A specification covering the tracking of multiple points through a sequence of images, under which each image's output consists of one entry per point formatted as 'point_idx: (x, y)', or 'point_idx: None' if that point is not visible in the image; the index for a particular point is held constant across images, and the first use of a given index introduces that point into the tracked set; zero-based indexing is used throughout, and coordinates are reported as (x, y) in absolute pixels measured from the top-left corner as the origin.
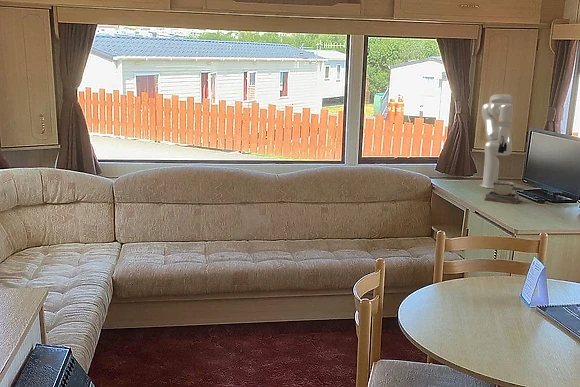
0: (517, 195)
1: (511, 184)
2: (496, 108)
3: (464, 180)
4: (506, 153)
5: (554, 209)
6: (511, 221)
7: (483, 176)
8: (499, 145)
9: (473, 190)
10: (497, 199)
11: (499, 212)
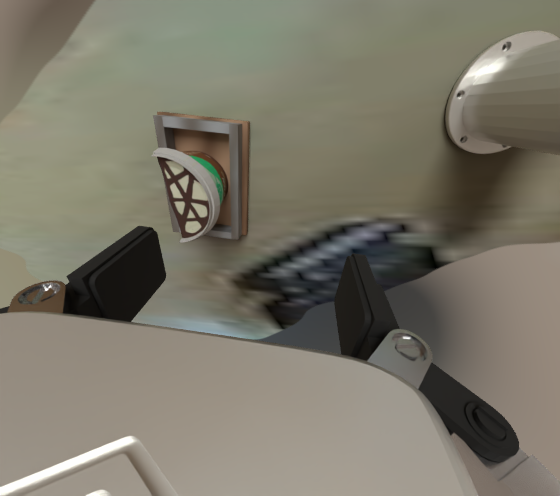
0: (214, 235)
1: (185, 232)
2: None
3: None
4: None
5: (185, 304)
6: None
7: (557, 40)
8: (25, 299)
9: (365, 12)
10: None
11: (28, 181)
